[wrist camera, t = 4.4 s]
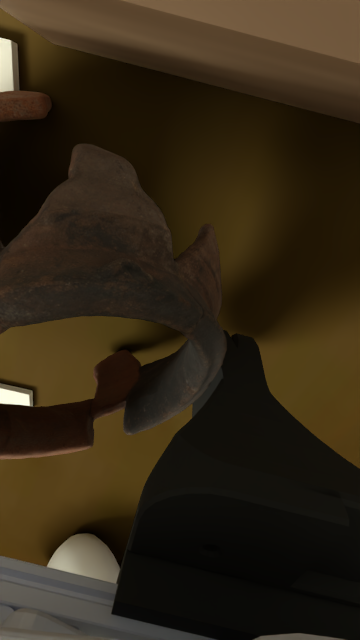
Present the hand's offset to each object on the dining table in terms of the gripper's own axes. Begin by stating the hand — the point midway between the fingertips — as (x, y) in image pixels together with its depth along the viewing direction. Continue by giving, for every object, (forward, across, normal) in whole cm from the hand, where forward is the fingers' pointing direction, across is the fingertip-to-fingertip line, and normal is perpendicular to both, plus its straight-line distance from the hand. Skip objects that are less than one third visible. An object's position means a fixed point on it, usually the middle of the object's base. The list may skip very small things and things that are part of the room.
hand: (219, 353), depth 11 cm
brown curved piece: (+1, +7, -1) cm, 7 cm away
